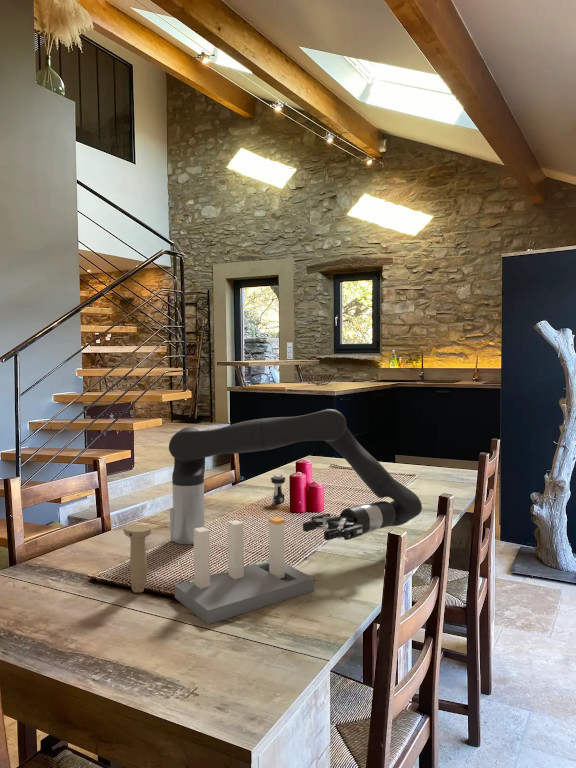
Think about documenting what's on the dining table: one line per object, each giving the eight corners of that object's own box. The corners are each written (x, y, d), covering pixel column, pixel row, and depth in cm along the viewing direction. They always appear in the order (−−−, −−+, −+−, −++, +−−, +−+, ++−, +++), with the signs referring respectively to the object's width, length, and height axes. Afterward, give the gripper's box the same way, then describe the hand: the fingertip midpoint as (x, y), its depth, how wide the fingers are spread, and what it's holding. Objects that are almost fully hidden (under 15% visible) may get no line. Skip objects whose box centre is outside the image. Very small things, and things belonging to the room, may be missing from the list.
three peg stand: (208, 624, 121) (207, 549, 120) (174, 597, 134) (173, 529, 133) (313, 590, 137) (313, 523, 136) (275, 569, 150) (274, 508, 149)
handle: (142, 597, 134) (141, 533, 133) (121, 591, 137) (119, 529, 136) (156, 589, 139) (155, 527, 138) (135, 584, 141) (133, 523, 140)
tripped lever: (276, 579, 139) (276, 521, 138) (269, 575, 141) (268, 518, 140) (284, 577, 140) (284, 519, 139) (277, 573, 143) (277, 516, 142)
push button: (278, 506, 209) (278, 478, 208) (266, 504, 212) (266, 476, 211) (288, 501, 215) (288, 474, 214) (275, 499, 218) (275, 473, 217)
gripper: (343, 500, 162) (296, 510, 152) (380, 511, 150) (332, 523, 141) (343, 526, 162) (297, 538, 153) (380, 540, 151) (332, 554, 141)
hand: (314, 531), depth 147 cm, fingers open, 8 cm apart
